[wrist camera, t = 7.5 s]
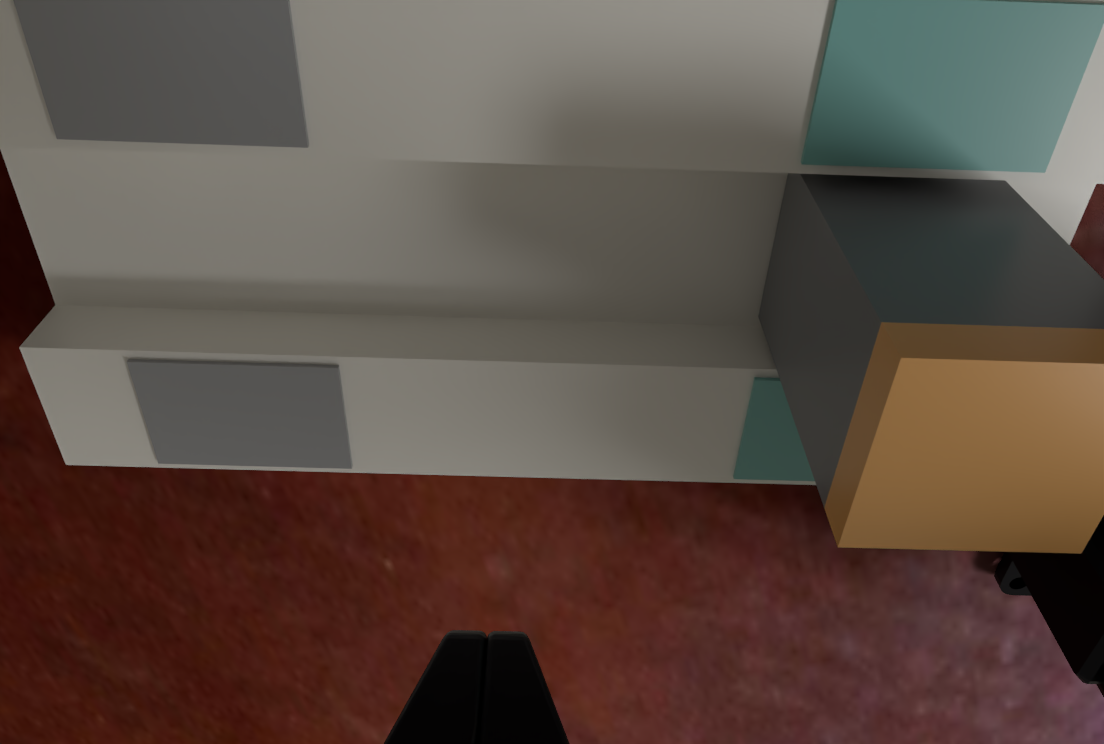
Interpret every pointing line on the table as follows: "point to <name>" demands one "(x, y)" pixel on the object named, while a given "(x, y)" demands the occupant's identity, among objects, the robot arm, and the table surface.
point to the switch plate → (483, 214)
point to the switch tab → (939, 363)
